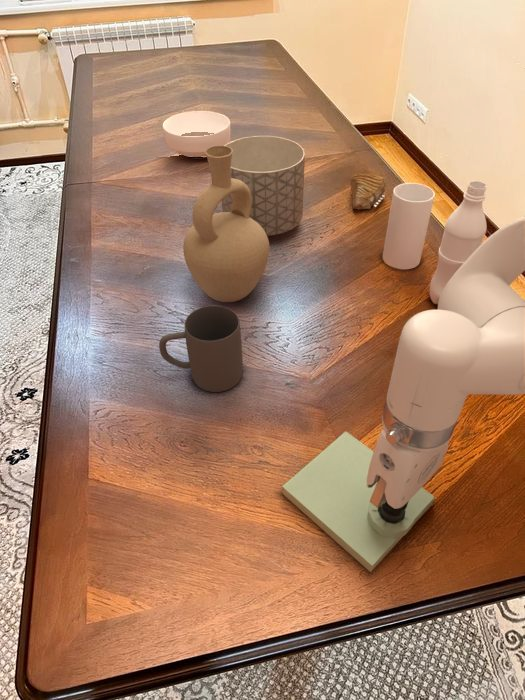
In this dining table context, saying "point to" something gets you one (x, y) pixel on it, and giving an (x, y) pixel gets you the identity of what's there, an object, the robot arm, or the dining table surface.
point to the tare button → (390, 515)
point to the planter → (270, 180)
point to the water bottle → (460, 237)
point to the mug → (210, 348)
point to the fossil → (367, 190)
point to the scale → (350, 501)
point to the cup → (407, 225)
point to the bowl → (196, 123)
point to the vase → (225, 236)
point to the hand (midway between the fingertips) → (392, 504)
